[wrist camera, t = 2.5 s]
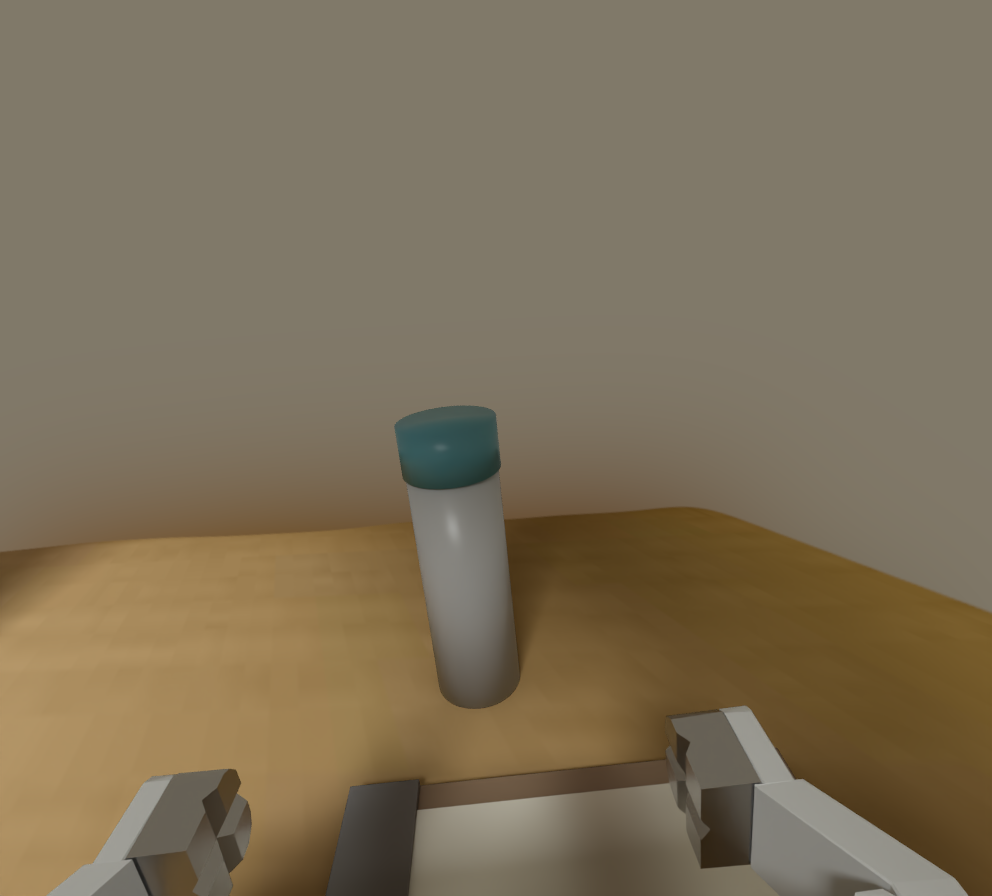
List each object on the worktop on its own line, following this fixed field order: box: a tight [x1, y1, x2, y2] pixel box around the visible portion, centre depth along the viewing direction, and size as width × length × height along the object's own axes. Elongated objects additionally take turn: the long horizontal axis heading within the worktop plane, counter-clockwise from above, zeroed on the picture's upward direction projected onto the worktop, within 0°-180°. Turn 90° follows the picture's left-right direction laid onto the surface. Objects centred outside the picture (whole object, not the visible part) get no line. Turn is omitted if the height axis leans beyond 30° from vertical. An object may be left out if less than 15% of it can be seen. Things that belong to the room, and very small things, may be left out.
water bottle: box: [395, 406, 520, 709], centre depth 23 cm, size 4×4×12 cm
